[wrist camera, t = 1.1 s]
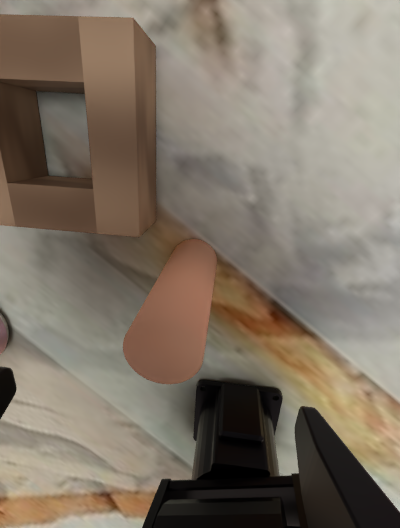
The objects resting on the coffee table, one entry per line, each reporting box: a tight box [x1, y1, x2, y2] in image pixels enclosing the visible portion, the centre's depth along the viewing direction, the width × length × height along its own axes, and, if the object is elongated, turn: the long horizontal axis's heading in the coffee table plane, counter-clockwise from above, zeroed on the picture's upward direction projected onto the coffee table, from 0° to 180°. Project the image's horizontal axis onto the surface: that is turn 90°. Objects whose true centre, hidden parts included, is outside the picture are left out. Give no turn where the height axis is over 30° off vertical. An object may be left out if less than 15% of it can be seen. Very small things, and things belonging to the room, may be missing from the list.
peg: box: [123, 239, 217, 384], centre depth 15 cm, size 3×3×9 cm
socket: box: [0, 14, 156, 237], centre depth 15 cm, size 9×9×4 cm
